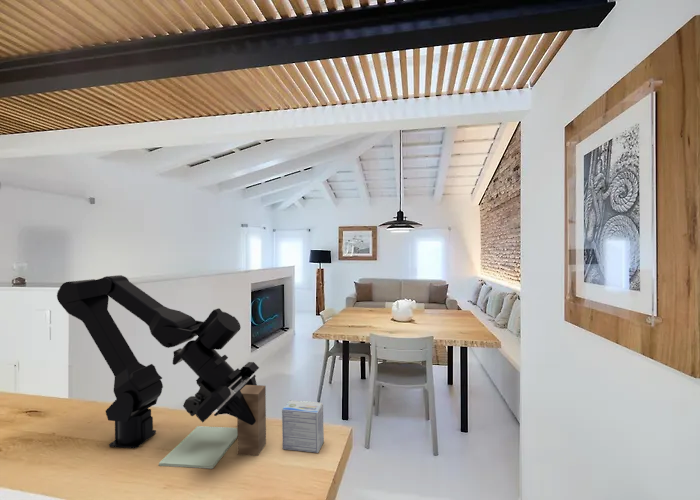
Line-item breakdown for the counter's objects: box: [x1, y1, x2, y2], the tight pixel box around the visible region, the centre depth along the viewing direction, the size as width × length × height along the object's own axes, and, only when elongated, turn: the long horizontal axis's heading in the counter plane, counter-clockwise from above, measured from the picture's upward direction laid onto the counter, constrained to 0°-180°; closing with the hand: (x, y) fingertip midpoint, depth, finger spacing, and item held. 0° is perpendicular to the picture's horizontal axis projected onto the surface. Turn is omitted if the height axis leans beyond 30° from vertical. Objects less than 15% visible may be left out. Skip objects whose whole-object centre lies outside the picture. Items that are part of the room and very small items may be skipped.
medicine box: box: [281, 399, 325, 454], centre depth 73 cm, size 8×4×9 cm, turn 78°
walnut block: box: [236, 384, 267, 456], centre depth 72 cm, size 4×4×12 cm
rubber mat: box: [158, 425, 238, 470], centre depth 73 cm, size 11×14×1 cm
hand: (258, 417), depth 72 cm, fingers closed on walnut block, 4 cm apart
